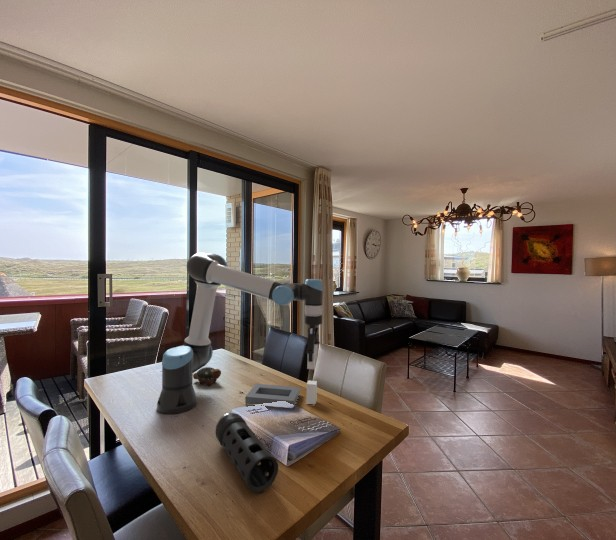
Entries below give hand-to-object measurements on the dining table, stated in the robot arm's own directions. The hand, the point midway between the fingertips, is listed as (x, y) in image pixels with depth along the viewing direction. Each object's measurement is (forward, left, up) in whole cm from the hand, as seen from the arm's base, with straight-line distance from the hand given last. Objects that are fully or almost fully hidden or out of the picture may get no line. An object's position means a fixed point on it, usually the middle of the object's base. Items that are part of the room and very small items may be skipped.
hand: (312, 363), depth 129 cm
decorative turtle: (-54, +11, -18) cm, 58 cm away
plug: (0, 0, -17) cm, 17 cm away
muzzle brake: (-15, -43, -18) cm, 49 cm away
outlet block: (-17, 0, -17) cm, 24 cm away
